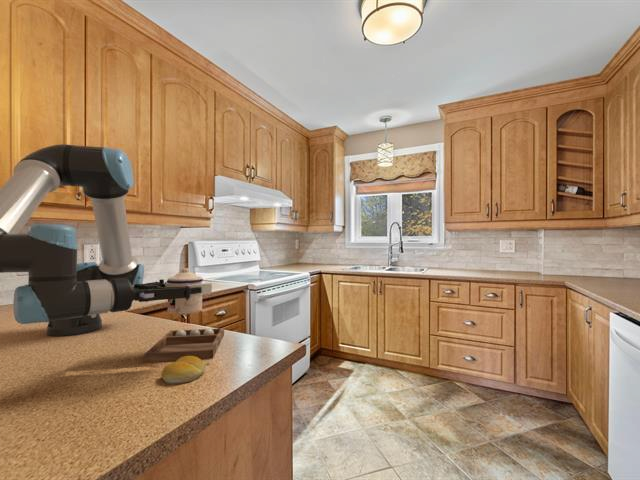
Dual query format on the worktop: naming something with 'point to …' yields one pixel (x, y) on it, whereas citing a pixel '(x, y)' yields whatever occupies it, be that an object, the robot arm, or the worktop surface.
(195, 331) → the pebble
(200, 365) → the bread roll
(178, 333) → the pebble
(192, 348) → the parts tray
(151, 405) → the worktop surface
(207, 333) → the pebble
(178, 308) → the teacup with lid
